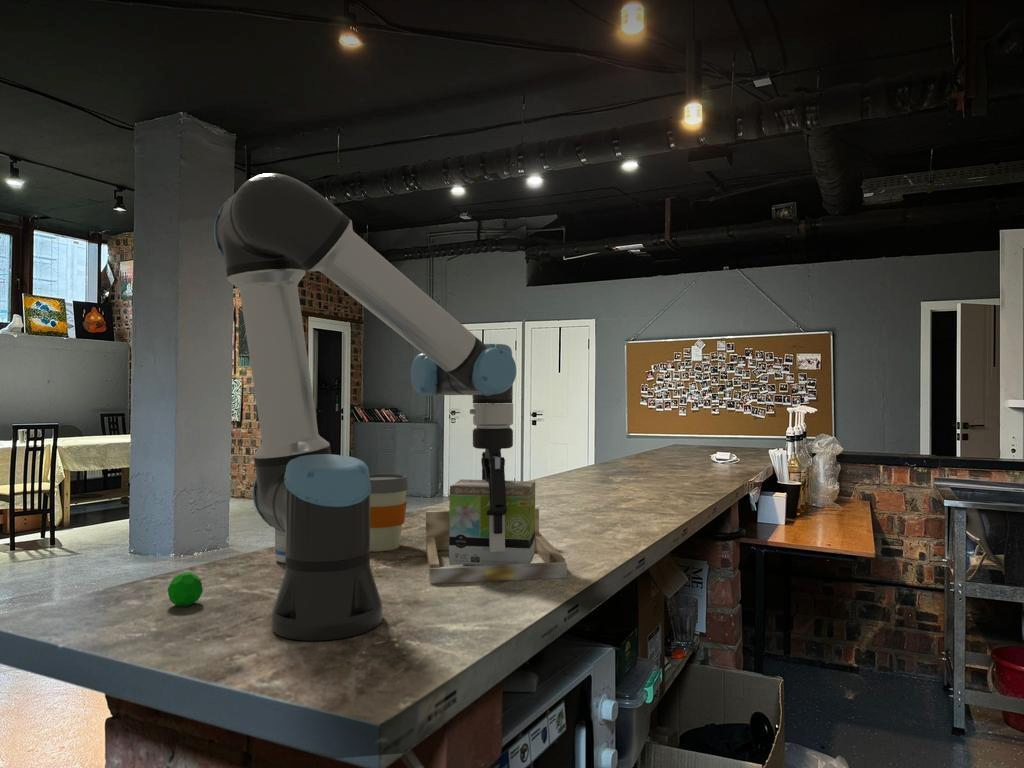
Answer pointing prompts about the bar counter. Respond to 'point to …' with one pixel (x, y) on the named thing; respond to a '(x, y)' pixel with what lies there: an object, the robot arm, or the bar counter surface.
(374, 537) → the reusable coffee cup
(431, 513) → the open wooden storage bin
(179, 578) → the polyhedron
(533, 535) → the tea box
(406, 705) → the bar counter surface
